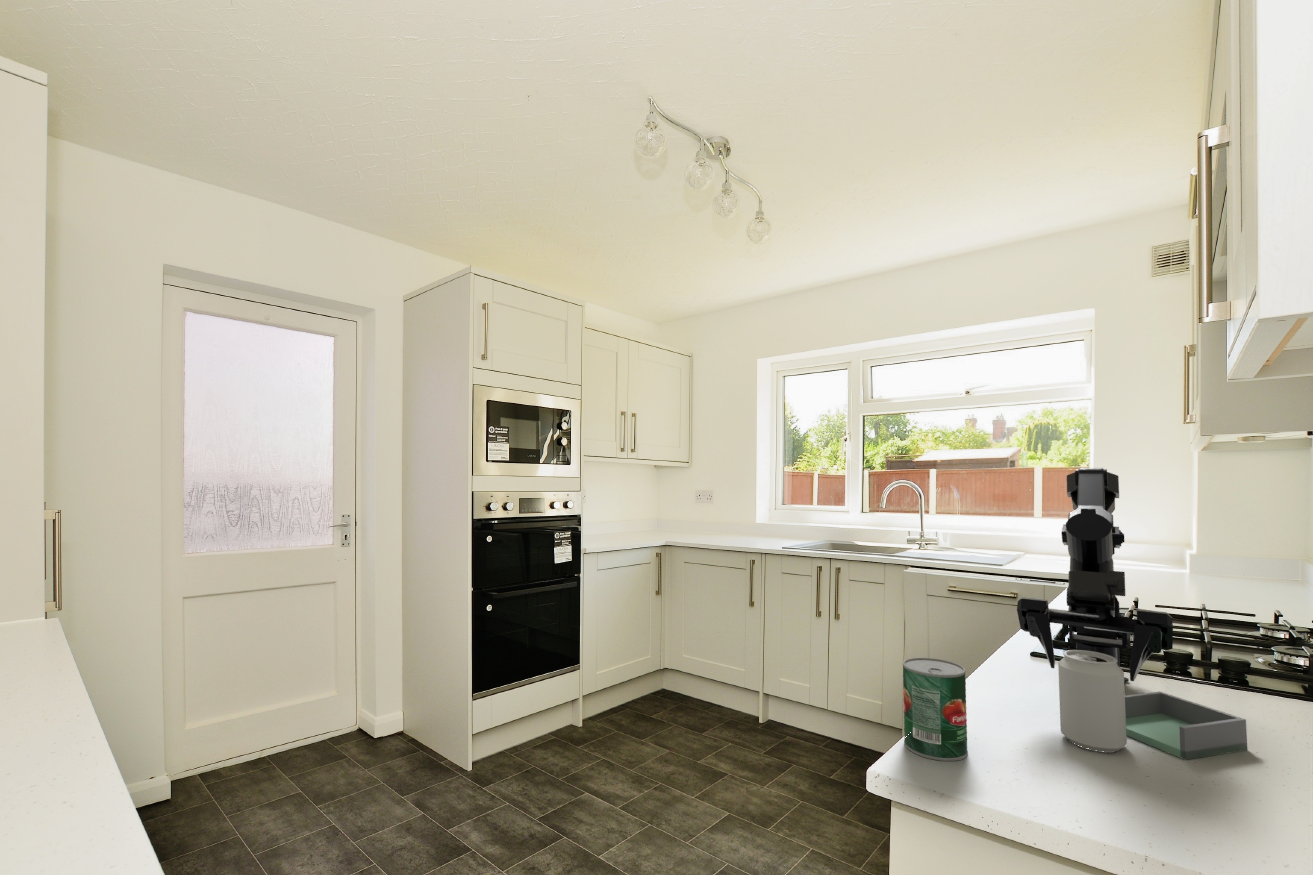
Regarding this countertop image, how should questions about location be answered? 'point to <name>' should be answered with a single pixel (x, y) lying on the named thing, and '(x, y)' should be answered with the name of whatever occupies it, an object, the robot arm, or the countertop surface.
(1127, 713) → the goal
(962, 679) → the canned tomato
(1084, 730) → the can
